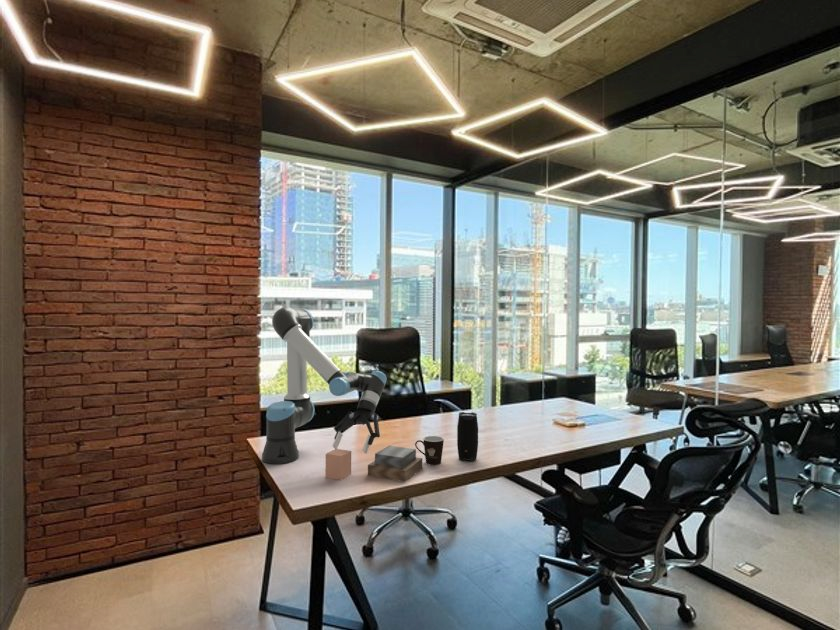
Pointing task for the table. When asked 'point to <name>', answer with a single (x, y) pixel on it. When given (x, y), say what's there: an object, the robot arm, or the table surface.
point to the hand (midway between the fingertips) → (349, 449)
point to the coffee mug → (432, 449)
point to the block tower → (395, 463)
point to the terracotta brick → (338, 464)
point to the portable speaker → (467, 436)
